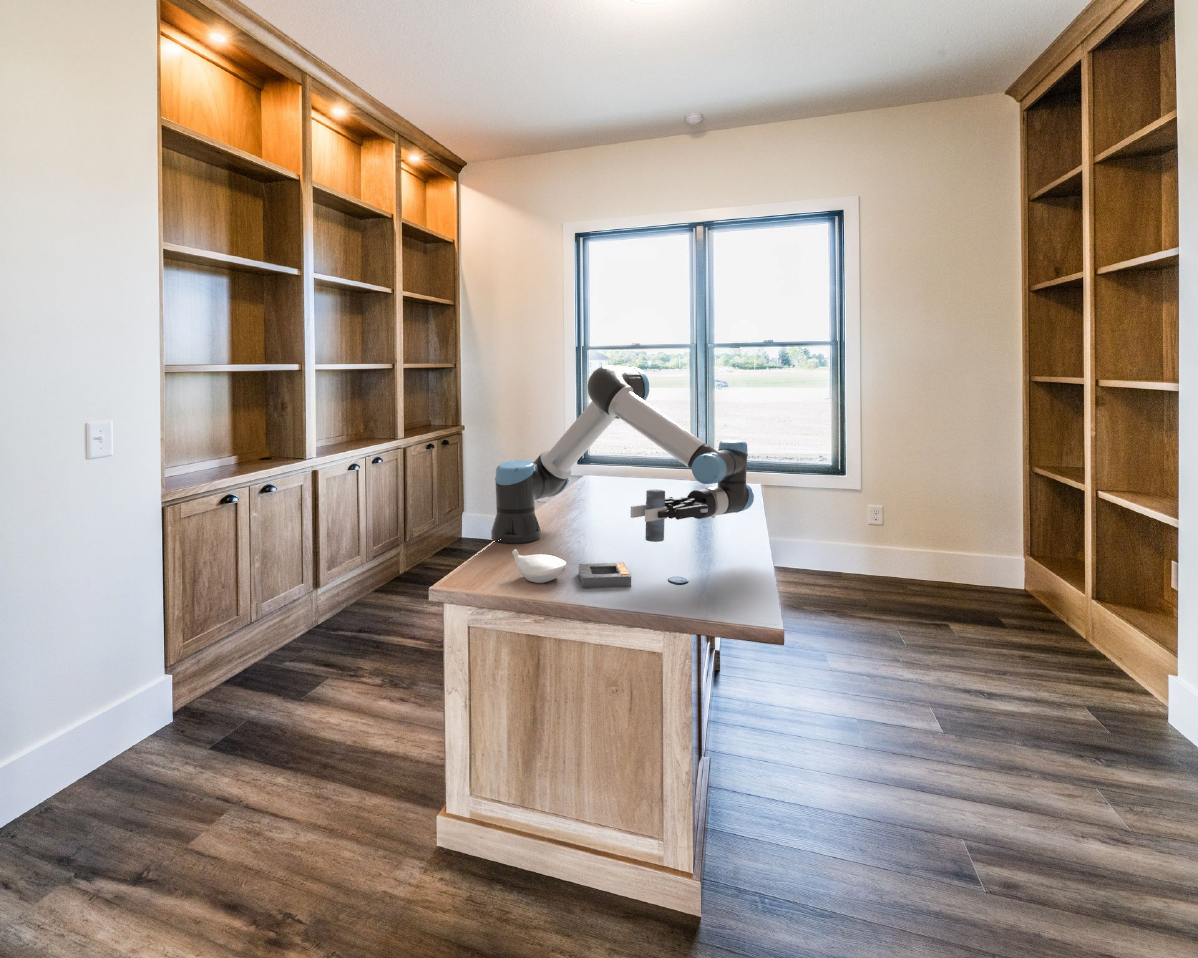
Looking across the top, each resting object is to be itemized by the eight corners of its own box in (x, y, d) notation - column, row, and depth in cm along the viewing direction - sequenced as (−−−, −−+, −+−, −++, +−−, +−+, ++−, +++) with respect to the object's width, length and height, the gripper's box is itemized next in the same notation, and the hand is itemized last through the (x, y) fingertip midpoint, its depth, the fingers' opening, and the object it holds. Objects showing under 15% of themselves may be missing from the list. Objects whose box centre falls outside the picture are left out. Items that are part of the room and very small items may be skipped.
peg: (641, 538, 158) (642, 490, 156) (655, 536, 161) (656, 488, 159) (654, 542, 155) (655, 493, 153) (667, 539, 157) (669, 491, 156)
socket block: (582, 588, 151) (582, 577, 151) (578, 573, 163) (578, 563, 162) (631, 586, 153) (631, 575, 152) (623, 572, 164) (623, 561, 164)
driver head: (522, 540, 164) (555, 528, 156) (543, 575, 166) (577, 565, 158) (498, 562, 156) (531, 551, 148) (520, 598, 158) (554, 589, 150)
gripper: (731, 523, 161) (663, 536, 147) (681, 511, 175) (615, 522, 161) (733, 493, 160) (664, 504, 146) (682, 484, 174) (615, 493, 160)
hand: (638, 513), depth 153 cm, fingers closed on peg, 4 cm apart
